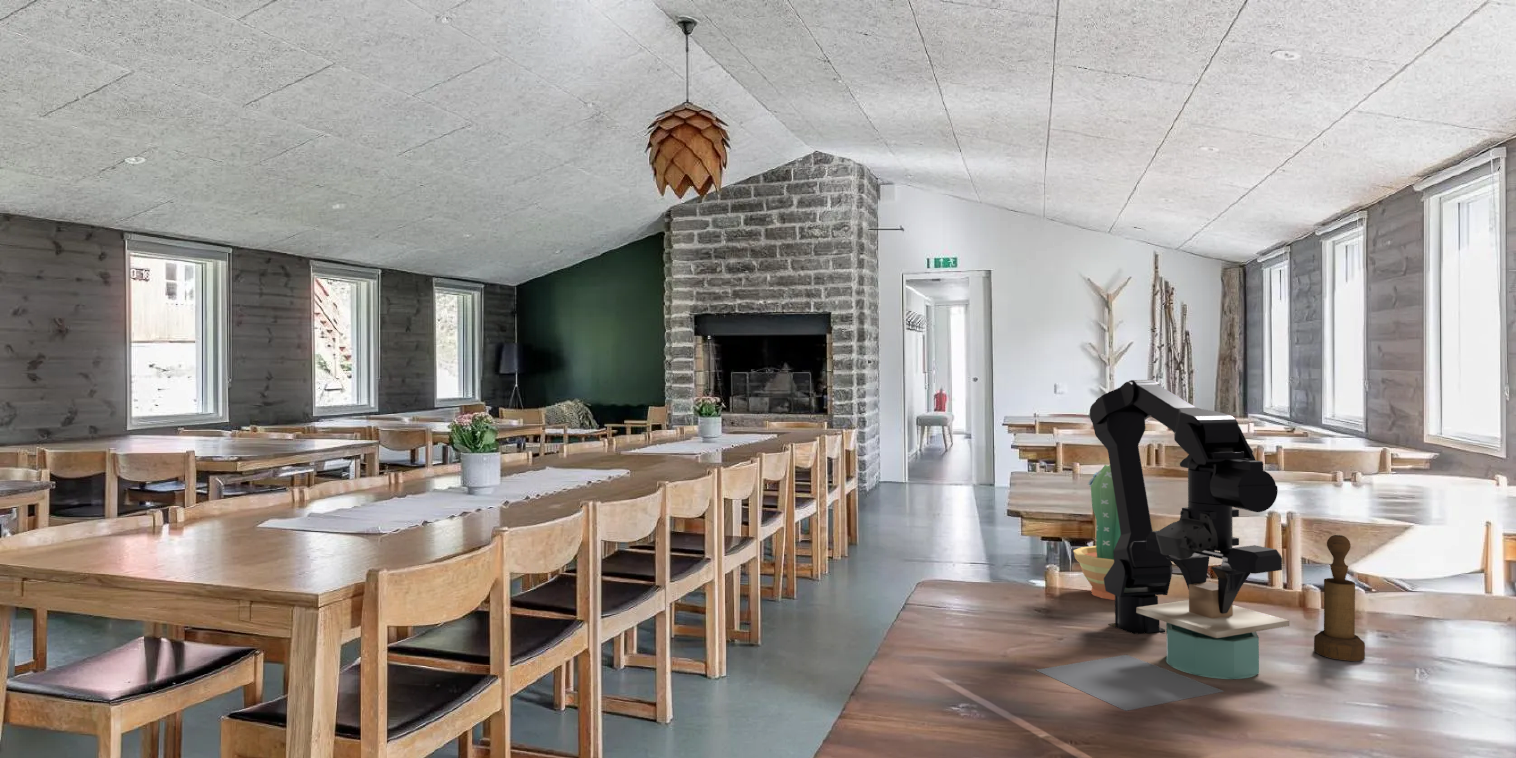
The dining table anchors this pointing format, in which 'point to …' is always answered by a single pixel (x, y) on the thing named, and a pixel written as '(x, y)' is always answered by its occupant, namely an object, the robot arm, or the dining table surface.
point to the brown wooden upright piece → (1339, 609)
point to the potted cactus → (1101, 534)
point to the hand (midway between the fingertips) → (1210, 609)
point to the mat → (1128, 682)
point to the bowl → (1212, 653)
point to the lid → (1211, 614)
